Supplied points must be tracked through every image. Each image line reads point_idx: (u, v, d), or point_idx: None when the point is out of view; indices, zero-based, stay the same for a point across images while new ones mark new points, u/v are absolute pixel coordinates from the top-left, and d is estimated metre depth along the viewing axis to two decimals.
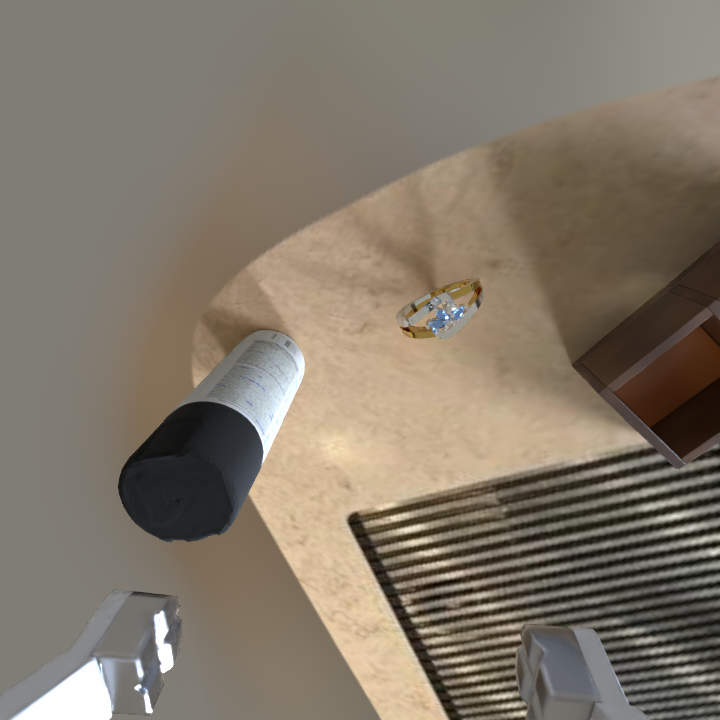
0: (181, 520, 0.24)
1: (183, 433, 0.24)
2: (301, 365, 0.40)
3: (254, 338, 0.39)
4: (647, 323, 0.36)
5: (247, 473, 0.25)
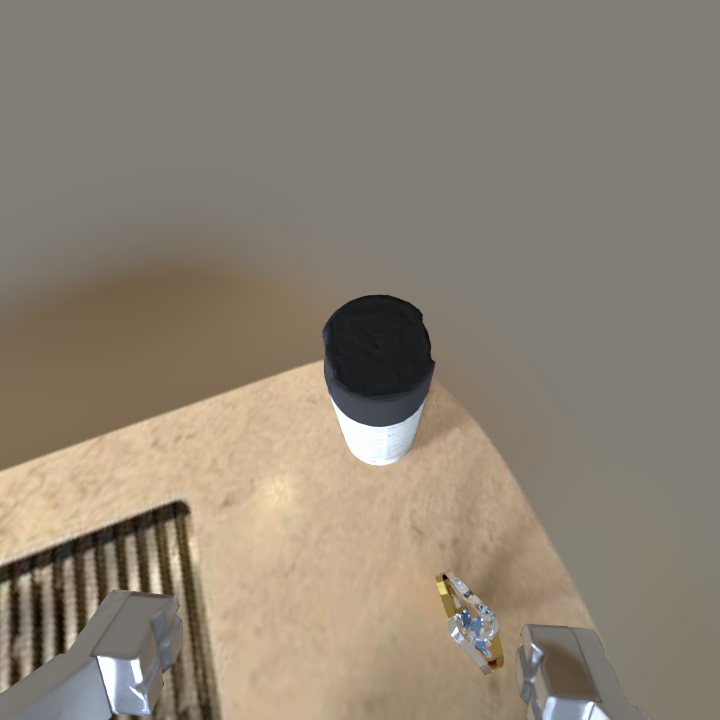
0: (352, 345, 0.25)
1: None
2: (384, 462, 0.40)
3: None
4: None
5: (382, 413, 0.25)
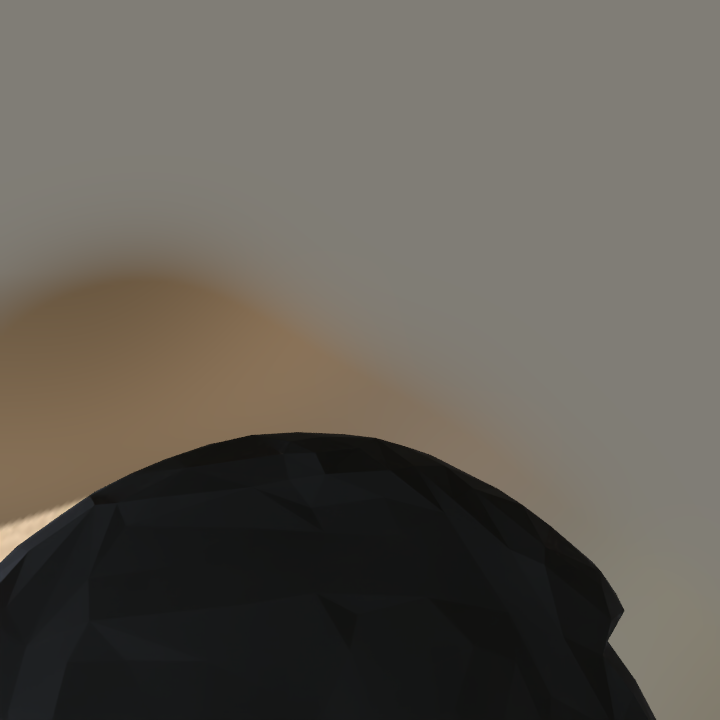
0: None
1: None
2: None
3: None
4: None
5: None
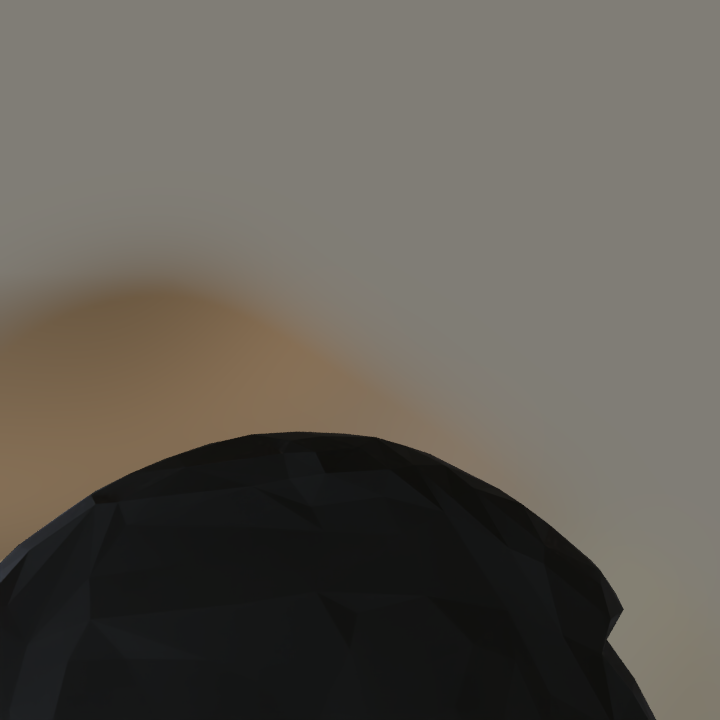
0: None
1: None
2: None
3: None
4: None
5: None
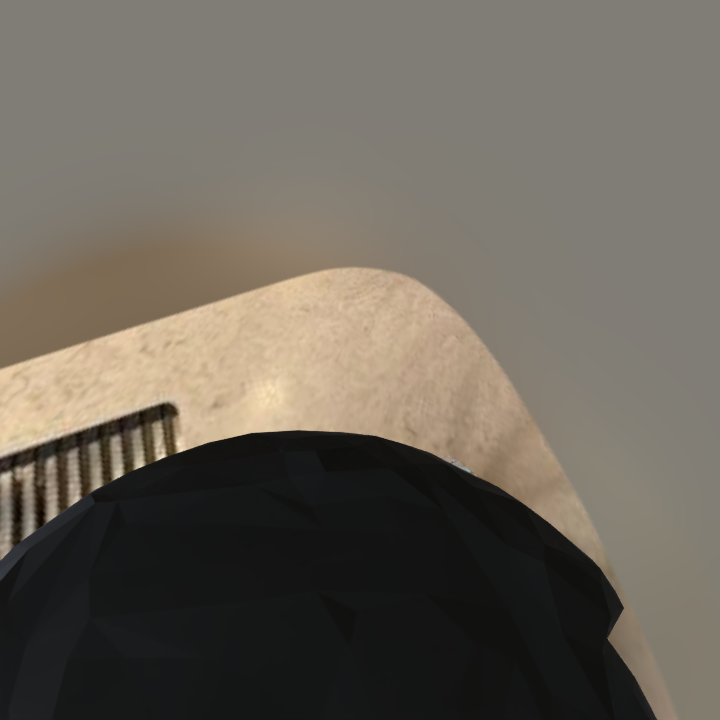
0: None
1: None
2: None
3: None
4: None
5: None
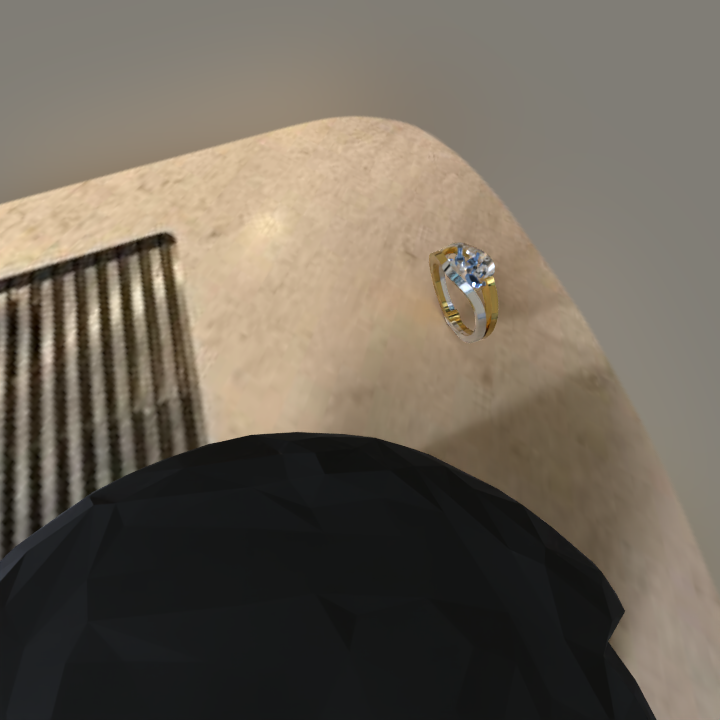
0: None
1: None
2: None
3: None
4: None
5: None
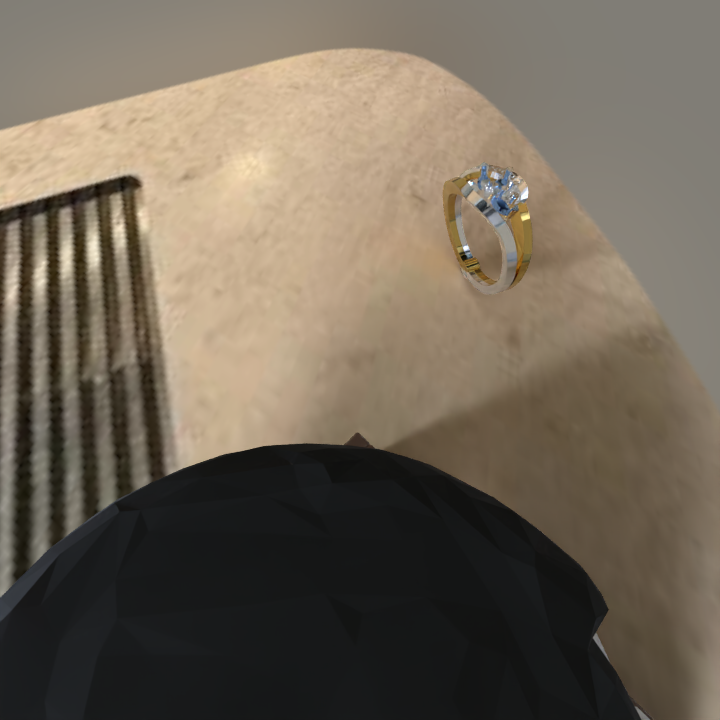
0: None
1: None
2: None
3: None
4: None
5: None
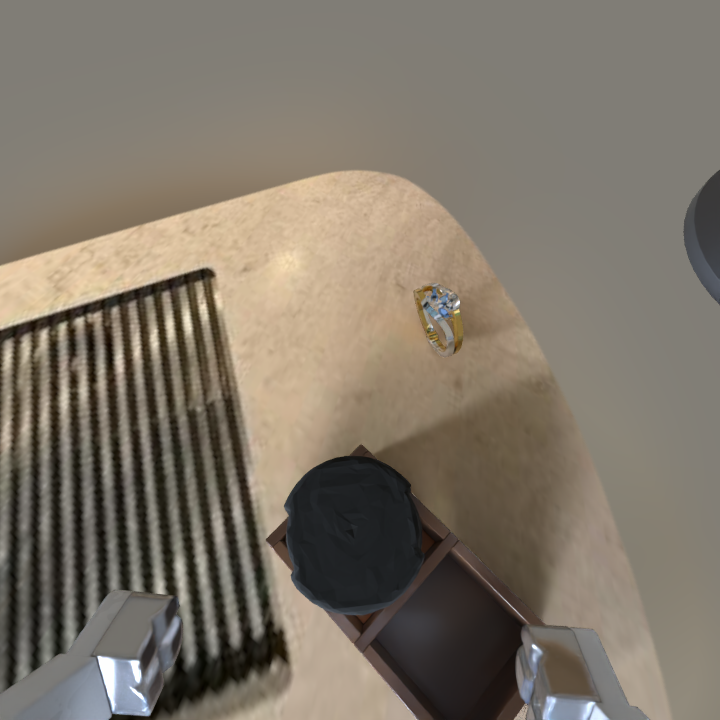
0: (321, 530, 0.19)
1: (419, 537, 0.21)
2: None
3: None
4: None
5: None
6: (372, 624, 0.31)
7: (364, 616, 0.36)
